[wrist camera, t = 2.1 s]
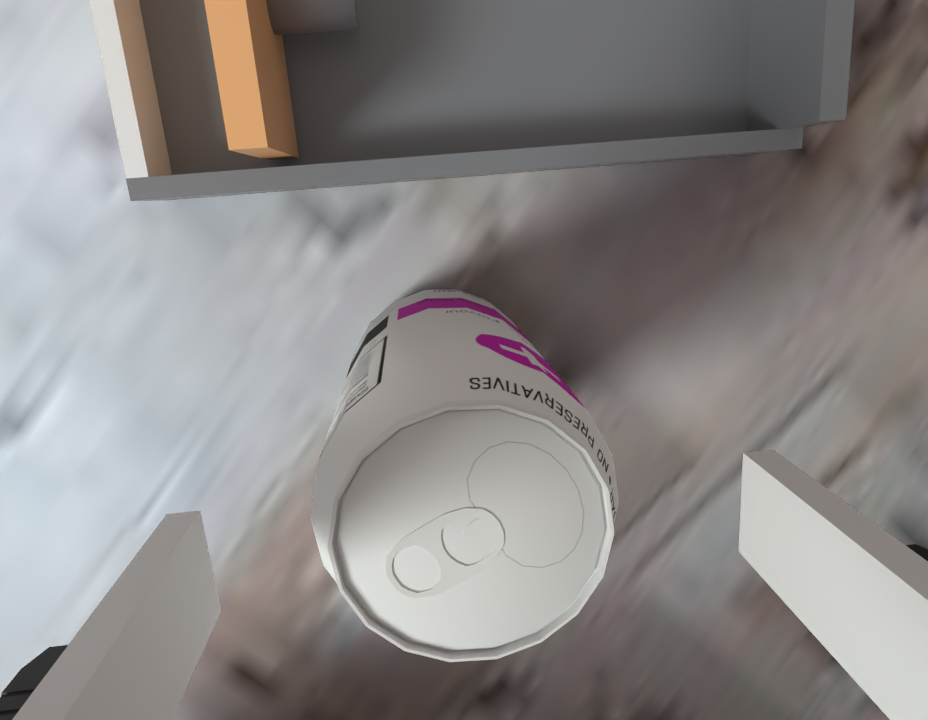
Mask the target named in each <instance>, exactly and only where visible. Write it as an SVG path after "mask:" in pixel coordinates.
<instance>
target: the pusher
mask: <svg viewBox="0 0 928 720" xmlns="http://www.w3.org/2000/svg"><path fill="white" fill-rule="evenodd" d="M204 3H205V9H206V15H207V21H208V27H209V33H210V39H211V45H212V51H213V57H214V63H215V69H216V75H217V81H218V87H219V93H220V99H221V105H222V112H223V118H224V124H225V130H226V136H227V142H228V148H229V150H231V151H235V152H238V153H242V154H246V155H250V156H254V157H258V158H262V159H266V160H281V159H295V158H299V153H298V146H297V139H296V132H295V124H294V117H293V110H292V103H291V95H290V88H289V81H288V74H287V67H286V59H285V52H284V45H283V38H282V35H283V34H299V33H315V32H331V31H347V30H358V18H357V9H356V0H204Z"/></svg>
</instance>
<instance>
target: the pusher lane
mask: <svg viewBox="0 0 928 720" xmlns="http://www.w3.org/2000/svg"><path fill="white" fill-rule="evenodd" d="M89 2H90V7H91V12H92V17H93V22H94V26H95V31H96V36H97V41H98V46H99V50H100V55H101V60H102V65H103V70H104V74H105V79H106V84H107V89H108V94H109V99H110V103H111V108H112V113H113V118H114V123H115V127H116V132H117V137H118V142H119V147H120V152H121V156H122V161H123V166H124V171H125V176H126V180H127V185H128V190H129V195H130V200H131V201H151V200H175V199H188V198H200V197H213V196H226V195H239V194H251V193H264V192H277V191H289V190H302V189H315V188H328V187H340V186H353V185H366V184H379V183H391V182H404V181H417V180H429V179H442V178H455V177H468V176H480V175H493V174H506V173H519V172H531V171H544V170H557V169H570V168H582V167H595V166H608V165H620V164H633V163H646V162H659V161H671V160H684V159H697V158H710V157H722V156H735V155H748V154H759V153H767V152H775V151H784V150H792V149H800V148H802V143H803V127H806V126H812V125H818V124H823V123H829V122H835V121H841V120H846V113H847V100H848V87H849V73H850V60H851V46H852V33H853V20H854V6H855V0H356V9H357V18H358V30H347V31H331V32H315V33H299V34H283V35H282V38H283V45H284V52H285V59H286V67H287V74H288V81H289V88H290V95H291V103H292V110H293V117H294V124H295V132H296V139H297V146H298V153H299V158H295V159H281V160H266V159H262V158H258V157H254V156H250V155H246V154H242V153H238V152H235V151H231V150H229V148H228V142H227V136H226V130H225V124H224V118H223V112H222V105H221V99H220V93H219V87H218V81H217V75H216V69H215V63H214V57H213V51H212V45H211V39H210V33H209V27H208V21H207V15H206V9H205V3H204V0H89Z"/></svg>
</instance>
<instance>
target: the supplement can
mask: <svg viewBox="0 0 928 720" xmlns="http://www.w3.org/2000/svg"><path fill="white" fill-rule="evenodd" d="M618 506H619V499H618V491H617V483H616V475H615V467H614V459H613V455H612V453H611V451H610V449H609V447H608V446H607V444H606V442H605V440H604V438H603V437H602V435H601V433H600V431H599V429H598V428H597V426H596V424H595V422H594V420H593V419H592V417H591V415H590V413H589V412H588V411H587V409H586V408H585V407H584V406H583V405H582V403H581V402H580V401H579V400H578V399H577V397H576V396H575V395H574V394H573V393H572V392H571V390H570V389H569V388H568V387H567V386H566V384H565V383H564V382H563V381H562V380H561V378H560V377H559V376H558V375H557V374H556V373H555V371H554V370H553V369H552V368H551V367H550V365H549V364H548V363H547V362H546V361H545V359H544V358H543V357H542V356H541V355H540V353H539V352H538V351H537V350H536V349H535V348H534V346H533V345H532V344H531V343H530V342H529V340H528V339H527V338H526V337H525V336H524V334H523V333H522V332H521V331H520V330H519V329H518V327H517V326H516V325H515V324H514V323H513V321H512V320H511V319H510V318H508V317H507V316H506V315H505V314H504V313H502V312H501V311H500V310H499V309H498V308H496V307H495V306H494V305H493V304H492V303H490V302H489V301H488V300H486V299H483V298H480V297H477V296H475V295H472V294H469V293H466V292H463V291H460V290H457V289H453V290H423V291H421V292H418V293H416V294H413V295H410V296H408V297H405V298H402V299H400V300H397V301H395V302H394V303H392V304H391V305H390V306H389V307H388V308H387V309H385V310H384V311H383V312H382V313H381V314H380V315H379V316H377V317H376V318H375V319H374V320H373V321H372V322H371V323H370V324H369V326H368V328H367V330H366V332H365V334H364V335H363V337H362V339H361V341H360V343H359V345H358V346H357V348H356V350H355V353H354V356H353V359H352V362H351V365H350V368H349V371H348V374H347V377H346V380H345V383H344V386H343V389H342V392H341V395H340V398H339V401H338V404H337V407H336V410H335V413H334V416H333V419H332V422H331V425H330V428H329V431H328V434H327V437H326V440H325V443H324V446H323V449H322V452H321V455H320V458H319V461H318V464H317V468H316V476H315V484H314V492H313V500H312V508H311V515H310V518H311V522H312V526H313V529H314V533H315V537H316V540H317V544H318V548H319V551H320V555H321V559H322V562H323V565H324V567H325V568H326V569H327V571H328V572H329V573H330V575H331V576H332V577H333V579H334V580H335V581H336V582H337V585H338V589H339V592H340V593H341V594H342V595H343V597H344V598H345V599H346V601H347V602H348V603H349V605H350V606H351V607H352V609H353V610H354V611H355V613H356V614H357V615H358V617H359V618H360V619H361V621H362V622H363V623H364V625H365V626H366V627H367V628H369V629H370V630H372V631H374V632H375V633H377V634H378V635H380V636H381V637H383V638H385V639H386V640H388V641H389V642H391V643H392V644H394V645H396V646H397V647H399V648H400V649H402V650H404V651H406V652H410V653H414V654H418V655H422V656H426V657H430V658H435V659H439V660H443V661H447V662H461V661H476V660H492V659H499V658H501V657H504V656H507V655H509V654H512V653H515V652H517V651H520V650H523V649H525V648H528V647H531V646H533V645H536V644H539V643H541V642H543V641H544V640H545V639H547V638H548V637H549V636H550V635H552V634H553V633H554V632H556V631H557V630H558V629H559V628H561V627H562V626H563V625H565V624H566V623H567V622H569V621H570V620H571V619H572V618H574V617H575V616H576V615H578V613H579V612H580V611H581V609H582V608H583V606H584V605H585V603H586V602H587V600H588V599H589V597H590V596H591V594H592V593H593V591H594V590H595V588H596V587H597V585H598V584H599V582H600V581H601V580H602V578H603V576H604V572H605V569H606V565H607V561H608V557H609V553H610V549H611V545H612V541H613V537H614V527H613V526H614V522H615V518H616V514H617V510H618Z"/></svg>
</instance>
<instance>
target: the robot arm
mask: <svg viewBox="0 0 928 720" xmlns="http://www.w3.org/2000/svg"><path fill="white" fill-rule="evenodd" d="M739 552H740V554H741V555H742V556H743V557H744V558H745V559H746V560H747V561H748V562H749V564H750V565H751V566H752V567H753V568H754V569H755V570H756V571H757V572H758V574H759V575H760V576H761V577H762V578H763V579H764V580H765V581H766V582H767V584H768V585H769V586H770V587H771V588H772V589H773V590H774V591H775V592H776V594H777V595H778V596H779V597H780V598H781V599H782V600H783V601H784V602H785V604H786V605H787V606H788V607H789V608H790V609H791V610H792V611H793V612H794V614H795V615H796V616H797V617H798V618H799V619H800V620H801V621H802V622H803V624H804V625H805V626H806V627H807V628H808V629H809V630H810V631H811V632H812V634H813V635H814V636H815V637H816V638H817V639H818V640H819V641H820V642H821V644H822V645H823V646H824V647H825V648H826V649H827V650H828V651H829V652H830V654H831V655H832V656H833V657H834V658H835V659H836V660H837V661H838V662H839V664H840V665H841V666H842V667H843V668H844V669H845V670H846V671H847V672H848V674H849V675H850V676H851V677H852V678H853V679H854V680H855V681H856V682H857V684H858V685H859V686H860V687H861V688H862V689H863V690H864V691H865V692H866V694H867V695H868V696H869V697H870V698H871V699H872V700H873V701H874V702H875V704H876V705H877V706H878V707H879V708H880V709H881V710H882V711H883V712H884V714H885V715H886V716H887V717H888V718H889V719H890V720H928V550H927V549H925V548H923V547H921V546H918V545H916V544H914V545H904V544H903V543H901V542H900V541H899V540H897V539H896V538H895V537H893V536H892V535H890V534H889V533H888V532H886V531H885V530H884V529H882V528H881V527H879V526H878V525H877V524H875V523H874V522H872V521H871V520H870V519H868V518H867V517H866V516H864V515H863V514H861V513H860V512H859V511H857V510H856V509H854V508H853V507H852V506H850V505H849V504H848V503H846V502H845V501H843V500H842V499H841V498H839V497H838V496H837V495H835V494H834V493H832V492H831V491H830V490H828V489H827V488H825V487H824V486H823V485H821V484H820V483H819V482H817V481H816V480H814V479H813V478H812V477H810V476H809V475H808V474H806V473H805V472H803V471H802V470H801V469H799V468H798V467H796V466H795V465H794V464H792V463H791V462H790V461H788V460H787V459H785V458H784V457H783V456H781V455H780V454H778V453H777V452H776V451H774V450H766V451H757V452H748V453H743V469H742V490H741V512H740V534H739ZM220 613H221V608H220V603H219V598H218V593H217V589H216V584H215V579H214V574H213V570H212V565H211V560H210V555H209V551H208V546H207V541H206V536H205V532H204V527H203V522H202V517H201V513H200V511H193V512H183V513H174V514H167V515H166V516H165V517H164V519H163V520H162V521H161V523H160V524H159V525H158V526H157V528H156V529H155V530H154V532H153V533H152V534H151V536H150V537H149V538H148V540H147V541H146V542H145V544H144V545H143V546H142V548H141V549H140V550H139V552H138V553H137V554H136V556H135V557H134V558H133V560H132V561H131V562H130V564H129V565H128V566H127V568H126V569H125V570H124V572H123V573H122V574H121V576H120V577H119V578H118V580H117V581H116V582H115V584H114V585H113V586H112V588H111V589H110V590H109V592H108V593H107V594H106V596H105V597H104V598H103V600H102V601H101V602H100V604H99V605H98V606H97V608H96V609H95V610H94V612H93V613H92V614H91V616H90V617H89V618H88V620H87V621H86V622H85V624H84V625H83V626H82V628H81V629H80V630H79V632H78V633H77V634H76V636H75V637H74V638H73V640H72V641H71V642H70V643H69V645H64V646H56V647H49V648H48V649H46V650H45V651H44V652H43V653H41V654H40V655H39V656H37V657H36V658H35V659H33V660H32V661H31V662H30V663H28V664H27V665H26V666H24V667H23V668H22V669H21V670H20V671H19V672H18V674H17V675H16V676H15V677H14V678H13V680H12V681H11V682H10V683H9V685H8V686H7V687H6V688H5V690H4V691H3V692H2V696H1V698H0V720H172V719H173V717H174V715H175V713H176V710H177V708H178V706H179V704H180V702H181V699H182V697H183V695H184V693H185V690H186V688H187V686H188V684H189V682H190V679H191V677H192V675H193V673H194V671H195V668H196V666H197V664H198V662H199V659H200V657H201V655H202V653H203V651H204V648H205V646H206V644H207V642H208V639H209V637H210V635H211V633H212V631H213V628H214V626H215V624H216V622H217V619H218V617H219V615H220Z"/></svg>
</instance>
